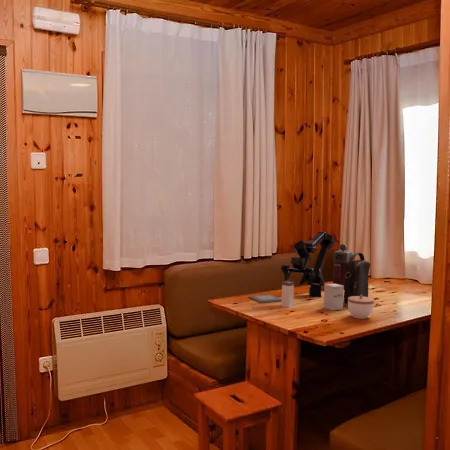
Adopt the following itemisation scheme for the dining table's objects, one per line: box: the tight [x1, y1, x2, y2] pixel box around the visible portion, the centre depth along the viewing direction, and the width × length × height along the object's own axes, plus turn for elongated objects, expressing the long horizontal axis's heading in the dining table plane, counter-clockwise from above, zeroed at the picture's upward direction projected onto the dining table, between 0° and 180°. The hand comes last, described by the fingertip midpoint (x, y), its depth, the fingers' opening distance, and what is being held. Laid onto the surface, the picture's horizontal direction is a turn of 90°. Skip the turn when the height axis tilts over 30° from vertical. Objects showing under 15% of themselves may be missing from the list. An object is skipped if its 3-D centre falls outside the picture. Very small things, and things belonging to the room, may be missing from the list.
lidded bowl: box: [347, 295, 375, 320], centre depth 258 cm, size 13×13×11 cm
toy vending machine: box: [332, 243, 353, 288], centre depth 329 cm, size 9×11×28 cm
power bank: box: [281, 280, 295, 308], centre depth 278 cm, size 5×5×13 cm
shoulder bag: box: [343, 252, 371, 306], centre depth 290 cm, size 23×9×28 cm, turn 142°
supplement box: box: [323, 283, 344, 311], centre depth 275 cm, size 7×7×13 cm
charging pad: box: [248, 294, 282, 304], centre depth 293 cm, size 14×14×1 cm
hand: (292, 283), depth 281 cm, fingers open, 9 cm apart
